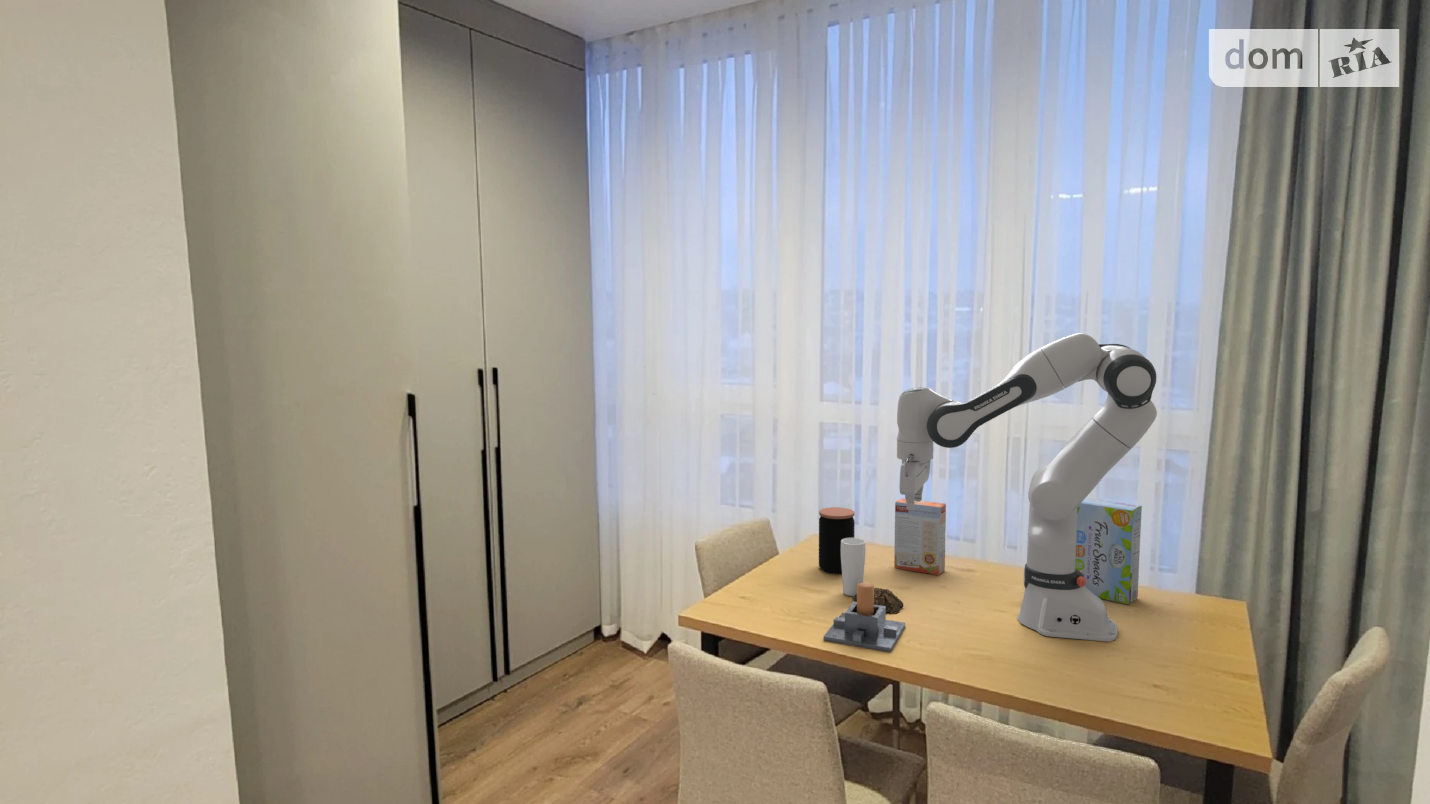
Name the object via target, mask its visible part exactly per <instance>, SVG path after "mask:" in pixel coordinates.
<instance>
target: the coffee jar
mask: <svg viewBox="0 0 1430 804" xmlns="http://www.w3.org/2000/svg"><path fill="white" fill-rule="evenodd" d="M818 514H819V516H820V517H819V518H818V567H819V569H820V570H821V571H822V572H824V573H825V574H830V575H842V567H841V540H842V539H845V538H855V518H854V516H855V510H853V509H851V508H847V507H846V508H845V507H839V506H837V507H835V506H832V507H823V508H822V509H819V510H818Z"/></svg>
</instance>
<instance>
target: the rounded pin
mask: <svg viewBox="0 0 1430 804" xmlns="http://www.w3.org/2000/svg"><path fill="white" fill-rule="evenodd" d="M874 588H875V585H874V584H873V583H870V582H863V583H859V584H857V613H861V614H868V615H874Z"/></svg>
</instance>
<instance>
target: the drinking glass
mask: <svg viewBox="0 0 1430 804" xmlns="http://www.w3.org/2000/svg"><path fill="white" fill-rule="evenodd" d="M865 564H866V541H865V540H864V539H862V538H858V537H854V538H845V539H842V540H841V567H842V574H841V576H842V580H841V581H842V593H843V594H844V595H845V596H848V597H849V596H850V597H854V596H855V595H856V594H857V584H859V583H864V573H865Z"/></svg>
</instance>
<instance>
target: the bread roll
mask: <svg viewBox="0 0 1430 804" xmlns="http://www.w3.org/2000/svg"><path fill="white" fill-rule="evenodd" d="M852 601H853V602H857V594H856V595H855V596H853V598H852ZM874 605H880V606H886V613H890V614H899V612H901V609H903V608H904V607H905V605H904V602H903V601H902V600H901V599H900V598H898V596H896V595H895V594H894V593H893V591H892V590H890V589H889V588H879V587H874Z"/></svg>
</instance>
